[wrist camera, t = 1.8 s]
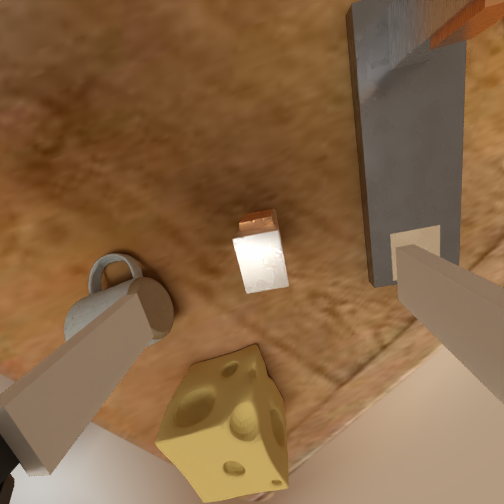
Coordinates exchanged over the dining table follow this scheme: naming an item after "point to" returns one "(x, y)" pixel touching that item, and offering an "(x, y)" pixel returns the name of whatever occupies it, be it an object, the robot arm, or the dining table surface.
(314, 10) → the dining table surface
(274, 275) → the loose carton
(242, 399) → the cheese
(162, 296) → the ceramic mug
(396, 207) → the rail
